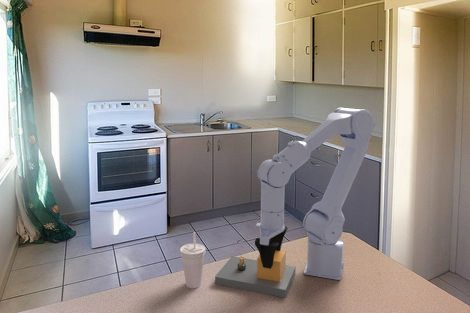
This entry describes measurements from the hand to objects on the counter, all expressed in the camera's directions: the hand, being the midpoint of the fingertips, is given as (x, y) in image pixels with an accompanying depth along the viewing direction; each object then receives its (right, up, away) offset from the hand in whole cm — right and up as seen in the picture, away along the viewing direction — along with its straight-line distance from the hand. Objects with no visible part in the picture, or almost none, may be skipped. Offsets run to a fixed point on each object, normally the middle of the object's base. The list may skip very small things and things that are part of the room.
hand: (271, 260), depth 93 cm
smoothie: (-20, -6, 0) cm, 20 cm away
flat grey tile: (-4, -5, +2) cm, 7 cm away
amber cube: (0, -4, +1) cm, 4 cm away
